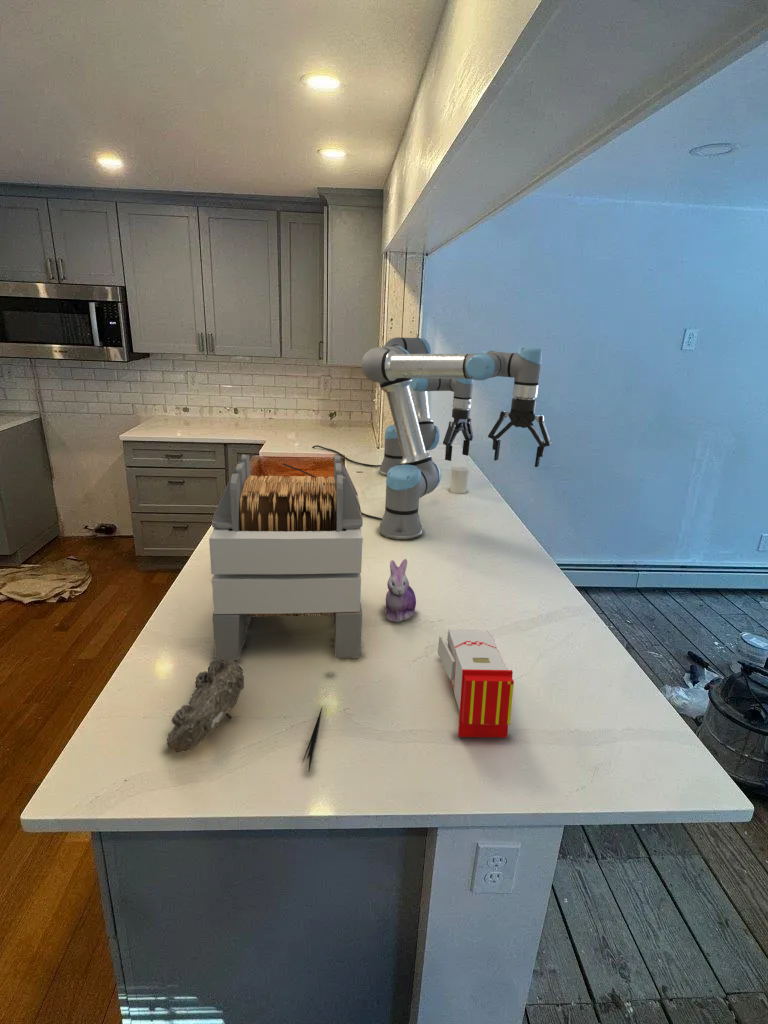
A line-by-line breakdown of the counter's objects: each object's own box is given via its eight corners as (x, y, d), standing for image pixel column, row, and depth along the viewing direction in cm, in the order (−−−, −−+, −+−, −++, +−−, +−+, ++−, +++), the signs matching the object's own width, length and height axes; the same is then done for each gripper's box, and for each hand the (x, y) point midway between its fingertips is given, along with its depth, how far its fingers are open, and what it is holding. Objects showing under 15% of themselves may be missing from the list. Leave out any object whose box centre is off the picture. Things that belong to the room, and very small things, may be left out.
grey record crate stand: (234, 590, 156) (226, 444, 142) (353, 588, 159) (357, 447, 146) (212, 662, 124) (200, 485, 110) (361, 659, 128) (367, 486, 114)
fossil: (192, 660, 117) (244, 628, 112) (224, 691, 120) (276, 661, 115) (142, 746, 98) (202, 712, 93) (182, 779, 101) (242, 748, 96)
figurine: (392, 627, 141) (395, 572, 136) (374, 608, 149) (376, 556, 144) (425, 619, 145) (429, 566, 140) (405, 601, 154) (408, 550, 149)
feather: (331, 679, 122) (336, 673, 122) (307, 777, 96) (313, 769, 95) (324, 675, 122) (329, 669, 121) (298, 772, 95) (304, 764, 95)
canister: (461, 494, 246) (463, 471, 242) (446, 491, 250) (448, 468, 246) (469, 490, 252) (471, 468, 248) (454, 487, 255) (456, 465, 252)
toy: (488, 613, 130) (523, 677, 101) (484, 667, 133) (517, 744, 104) (435, 612, 130) (455, 676, 101) (432, 666, 133) (451, 743, 103)
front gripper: (566, 400, 178) (556, 466, 185) (489, 392, 188) (483, 454, 195) (562, 403, 171) (552, 471, 179) (482, 395, 182) (476, 459, 189)
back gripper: (452, 413, 227) (447, 464, 234) (484, 406, 245) (479, 454, 252) (437, 410, 231) (433, 460, 239) (469, 404, 249) (465, 451, 257)
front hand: (516, 462), depth 187 cm, fingers open, 13 cm apart
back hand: (456, 457), depth 245 cm, fingers open, 13 cm apart
